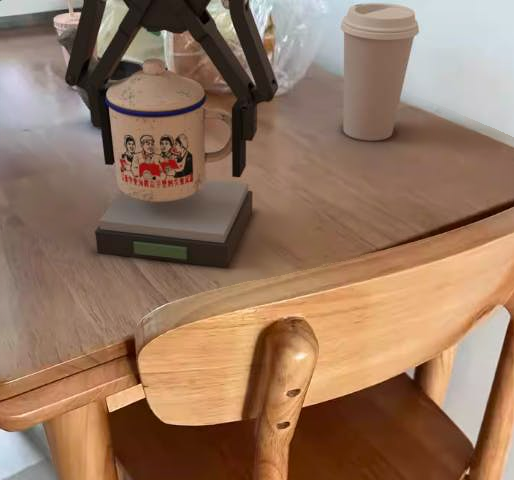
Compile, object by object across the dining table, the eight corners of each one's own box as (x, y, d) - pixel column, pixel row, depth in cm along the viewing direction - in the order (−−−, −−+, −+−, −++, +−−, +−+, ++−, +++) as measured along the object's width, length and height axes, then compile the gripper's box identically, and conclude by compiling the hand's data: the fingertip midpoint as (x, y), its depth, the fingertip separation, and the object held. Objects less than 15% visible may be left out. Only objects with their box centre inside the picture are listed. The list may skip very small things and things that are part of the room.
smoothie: (63, 80, 112) (49, -21, 103) (105, 78, 113) (95, -22, 104) (62, 94, 107) (47, -11, 98) (106, 92, 108) (95, -11, 99)
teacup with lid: (109, 204, 68) (94, 77, 61) (120, 164, 75) (108, 46, 68) (238, 204, 68) (238, 77, 61) (237, 164, 76) (237, 46, 68)
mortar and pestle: (154, 109, 102) (148, 18, 95) (152, 135, 95) (146, 38, 88) (73, 110, 102) (60, 18, 94) (65, 136, 94) (50, 38, 87)
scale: (96, 254, 71) (92, 223, 69) (136, 199, 80) (134, 170, 78) (226, 270, 69) (226, 238, 67) (252, 211, 79) (252, 181, 77)
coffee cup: (380, 115, 102) (395, -1, 93) (417, 139, 95) (437, 17, 86) (319, 123, 99) (328, 4, 90) (353, 149, 92) (366, 23, 83)
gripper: (319, -96, 58) (304, 161, 72) (36, -107, 62) (72, 139, 75) (306, -83, 53) (293, 194, 66) (-5, -96, 56) (41, 169, 69)
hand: (175, 165), depth 71 cm, fingers closed on teacup with lid, 12 cm apart
